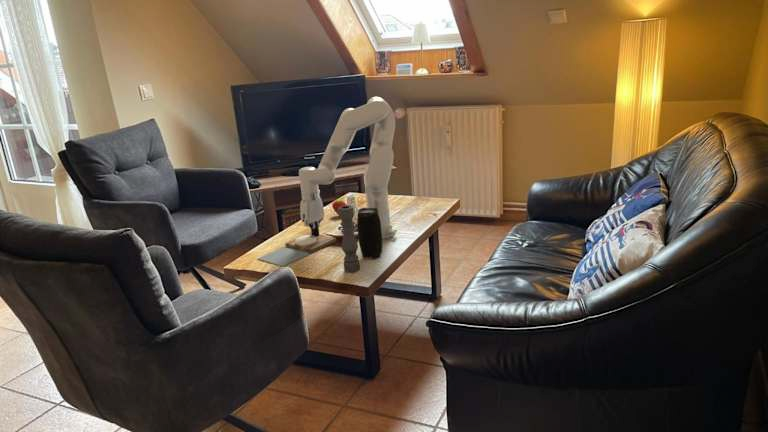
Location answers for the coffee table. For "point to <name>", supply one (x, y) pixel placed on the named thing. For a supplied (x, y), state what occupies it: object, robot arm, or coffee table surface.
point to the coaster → (306, 240)
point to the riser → (321, 243)
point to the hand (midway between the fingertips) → (315, 235)
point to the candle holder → (349, 239)
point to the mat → (283, 256)
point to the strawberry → (338, 204)
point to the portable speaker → (369, 233)
